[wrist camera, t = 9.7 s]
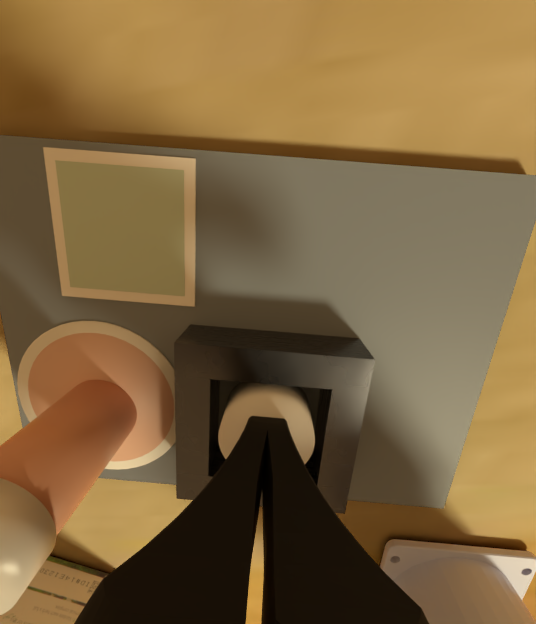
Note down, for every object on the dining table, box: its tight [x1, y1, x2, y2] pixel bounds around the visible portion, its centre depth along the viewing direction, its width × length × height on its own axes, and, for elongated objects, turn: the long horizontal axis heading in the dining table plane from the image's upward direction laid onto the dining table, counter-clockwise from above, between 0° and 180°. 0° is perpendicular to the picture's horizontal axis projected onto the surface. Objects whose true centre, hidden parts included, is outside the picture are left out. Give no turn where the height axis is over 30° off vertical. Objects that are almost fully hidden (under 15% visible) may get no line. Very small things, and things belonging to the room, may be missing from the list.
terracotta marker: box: [0, 380, 137, 615], centre depth 10 cm, size 4×4×6 cm
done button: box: [218, 382, 315, 464], centre depth 12 cm, size 4×4×2 cm
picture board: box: [0, 135, 536, 509], centre depth 13 cm, size 15×20×1 cm
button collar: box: [174, 324, 375, 514], centre depth 12 cm, size 7×7×2 cm
